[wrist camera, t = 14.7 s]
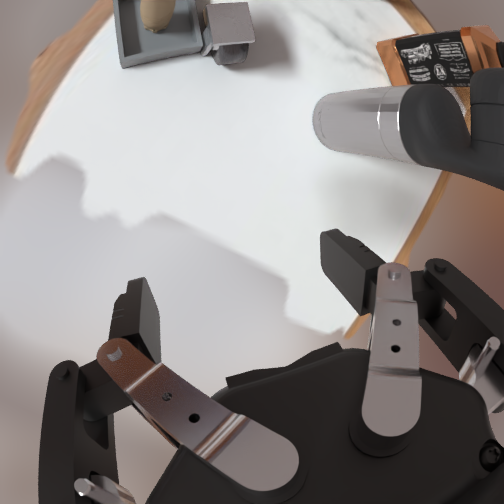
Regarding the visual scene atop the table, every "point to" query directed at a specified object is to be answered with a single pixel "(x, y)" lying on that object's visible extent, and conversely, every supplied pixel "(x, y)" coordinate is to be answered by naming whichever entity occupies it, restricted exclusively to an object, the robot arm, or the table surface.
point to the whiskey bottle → (441, 56)
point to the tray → (155, 44)
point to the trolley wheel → (227, 32)
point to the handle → (156, 14)
